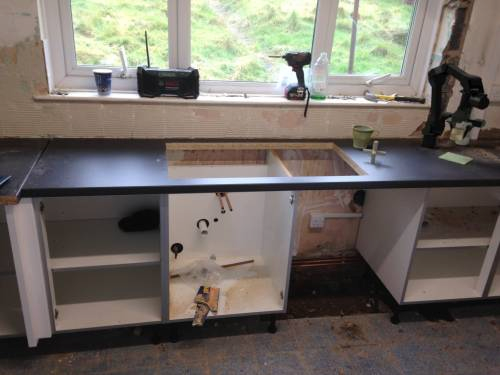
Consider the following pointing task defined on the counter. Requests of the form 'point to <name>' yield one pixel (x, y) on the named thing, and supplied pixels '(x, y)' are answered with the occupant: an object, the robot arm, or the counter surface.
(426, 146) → the robot arm
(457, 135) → the beech block
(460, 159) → the sage mat
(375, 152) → the pipe connector
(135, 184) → the counter surface
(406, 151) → the counter surface
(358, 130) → the ceramic cup
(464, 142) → the silver ribbed metal bottle
